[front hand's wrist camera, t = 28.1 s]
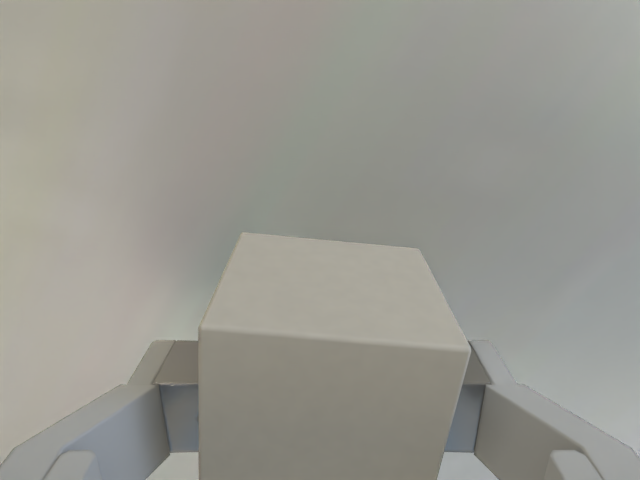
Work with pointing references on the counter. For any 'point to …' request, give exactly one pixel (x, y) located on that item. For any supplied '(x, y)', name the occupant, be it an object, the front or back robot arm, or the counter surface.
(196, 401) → the front robot arm
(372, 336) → the brick
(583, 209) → the counter surface
